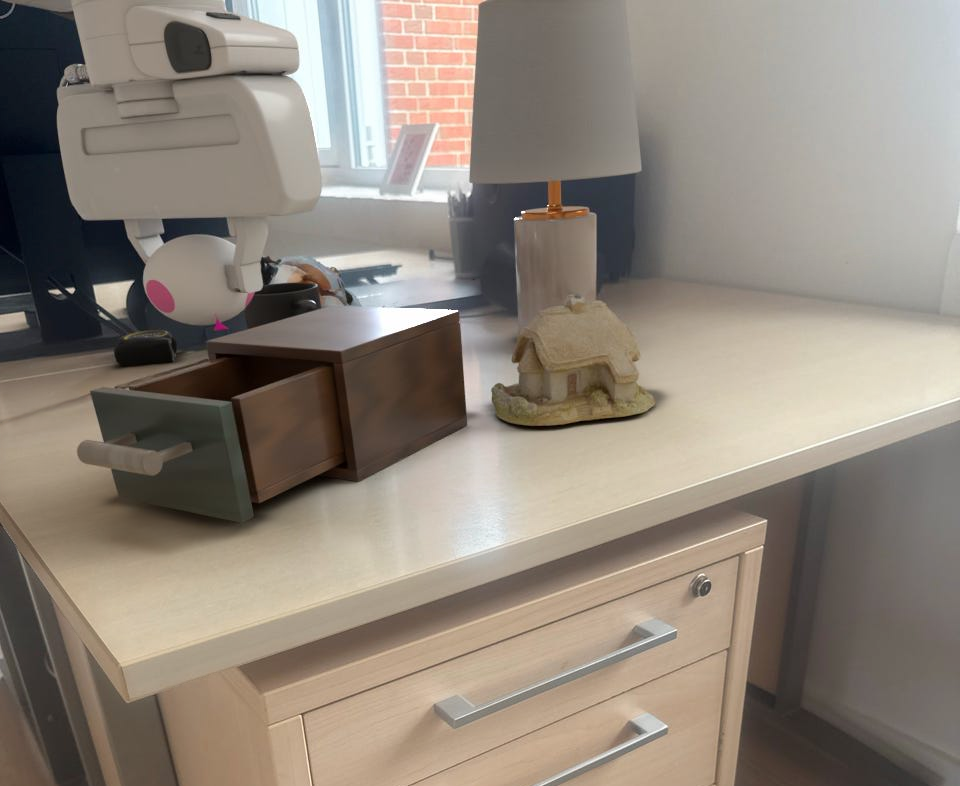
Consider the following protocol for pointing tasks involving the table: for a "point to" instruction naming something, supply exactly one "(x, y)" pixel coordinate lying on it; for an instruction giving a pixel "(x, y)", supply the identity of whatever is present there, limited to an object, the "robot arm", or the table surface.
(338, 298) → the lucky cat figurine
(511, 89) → the lamp
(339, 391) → the cabinet
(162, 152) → the robot arm
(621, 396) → the ceramic model
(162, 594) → the table surface
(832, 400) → the table surface
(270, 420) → the drawer
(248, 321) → the mug
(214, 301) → the stress ball
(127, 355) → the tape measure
